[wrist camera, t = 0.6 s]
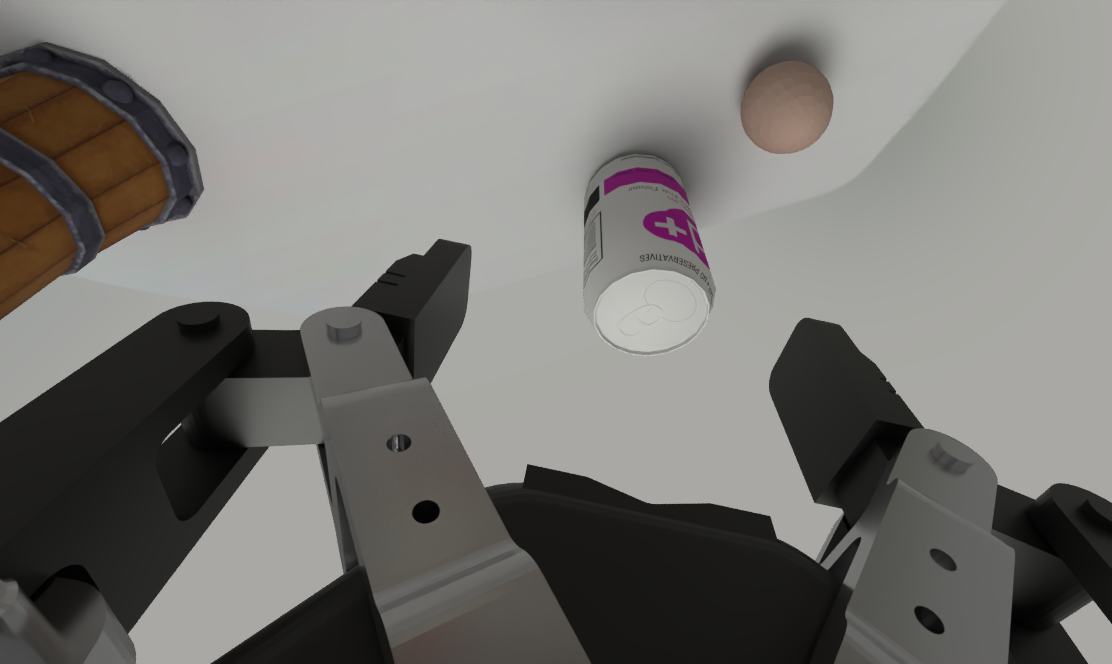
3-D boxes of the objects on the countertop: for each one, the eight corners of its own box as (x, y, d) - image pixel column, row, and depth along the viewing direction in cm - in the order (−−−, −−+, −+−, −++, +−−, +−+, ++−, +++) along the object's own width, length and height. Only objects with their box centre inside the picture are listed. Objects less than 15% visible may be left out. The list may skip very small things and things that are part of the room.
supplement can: (640, 127, 36) (664, 233, 25) (703, 200, 40) (746, 319, 29) (564, 196, 40) (555, 313, 29) (627, 256, 44) (640, 379, 33)
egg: (825, 56, 32) (872, 90, 27) (788, 134, 36) (824, 178, 30) (749, 43, 32) (781, 75, 27) (720, 123, 36) (743, 166, 30)
